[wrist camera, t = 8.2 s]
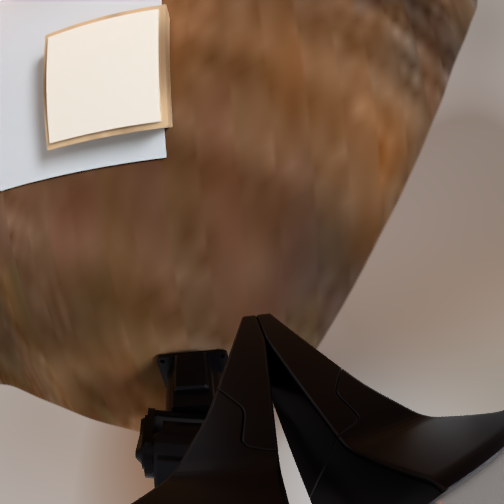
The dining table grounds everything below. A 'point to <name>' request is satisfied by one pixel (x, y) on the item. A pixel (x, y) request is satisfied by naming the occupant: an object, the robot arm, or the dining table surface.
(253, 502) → the robot arm
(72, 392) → the dining table surface
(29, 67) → the mat
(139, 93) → the tile
